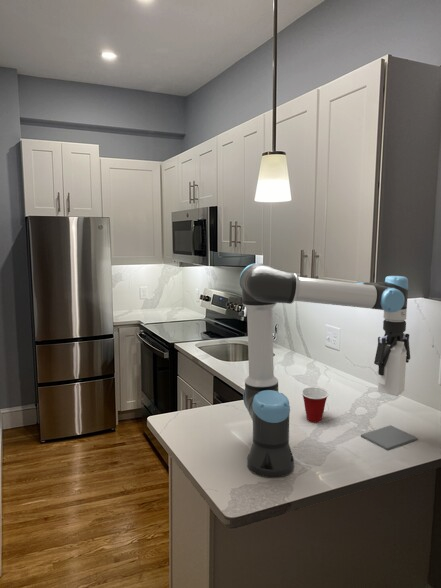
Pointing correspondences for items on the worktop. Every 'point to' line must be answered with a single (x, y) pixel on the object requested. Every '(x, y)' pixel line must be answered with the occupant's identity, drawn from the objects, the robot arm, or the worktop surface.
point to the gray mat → (389, 437)
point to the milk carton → (395, 371)
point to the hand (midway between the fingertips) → (391, 381)
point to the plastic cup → (314, 402)
